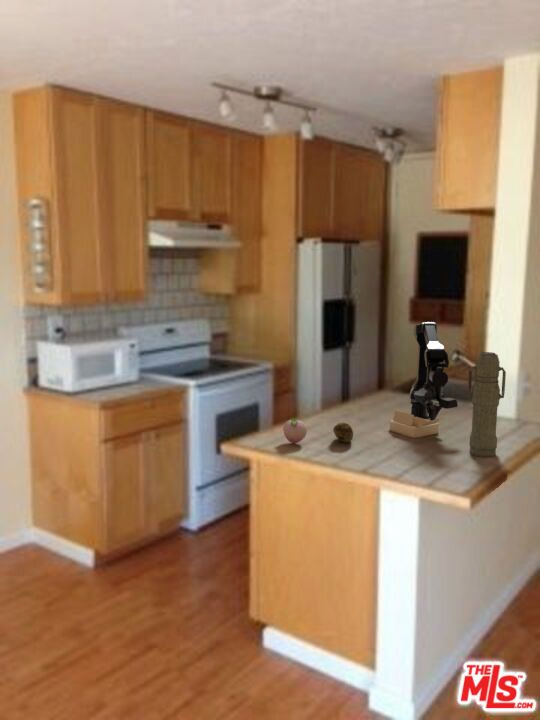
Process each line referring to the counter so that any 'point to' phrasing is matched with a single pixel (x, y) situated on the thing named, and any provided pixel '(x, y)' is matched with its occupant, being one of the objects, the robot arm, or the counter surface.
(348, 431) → the potato
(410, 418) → the far flap
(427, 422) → the left flap
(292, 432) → the decorative fruit
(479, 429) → the thermos
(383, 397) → the counter surface
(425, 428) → the carton
